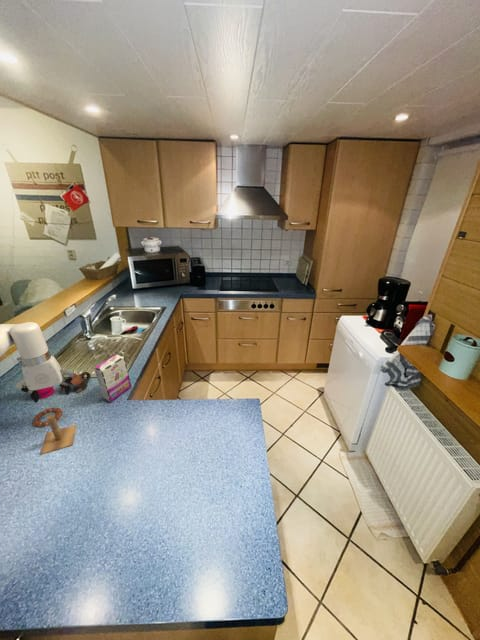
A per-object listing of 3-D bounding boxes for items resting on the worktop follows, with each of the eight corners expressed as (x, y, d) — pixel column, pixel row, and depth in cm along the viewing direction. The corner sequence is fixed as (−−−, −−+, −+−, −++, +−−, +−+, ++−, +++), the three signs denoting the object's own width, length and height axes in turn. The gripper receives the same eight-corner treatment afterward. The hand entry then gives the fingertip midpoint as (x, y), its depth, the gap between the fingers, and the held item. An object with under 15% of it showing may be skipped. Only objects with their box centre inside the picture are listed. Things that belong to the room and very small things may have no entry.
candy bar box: (123, 383, 115) (116, 353, 108) (131, 387, 113) (125, 356, 106) (102, 399, 105) (93, 367, 98) (110, 403, 103) (101, 370, 97)
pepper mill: (35, 403, 103) (18, 363, 94) (36, 393, 108) (19, 354, 99) (57, 396, 107) (41, 357, 98) (56, 387, 112) (41, 349, 103)
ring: (30, 432, 90) (28, 428, 89) (37, 414, 98) (35, 410, 97) (60, 424, 93) (59, 420, 92) (65, 407, 101) (63, 403, 100)
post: (41, 456, 81) (29, 431, 77) (48, 435, 89) (37, 411, 84) (73, 447, 85) (64, 422, 80) (77, 427, 92) (68, 403, 87)
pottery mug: (74, 400, 105) (59, 386, 102) (68, 399, 112) (54, 386, 109) (98, 379, 113) (85, 366, 110) (92, 379, 119) (79, 366, 117)
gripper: (0, 369, 79) (21, 410, 86) (64, 357, 85) (78, 396, 93) (9, 357, 85) (27, 396, 93) (68, 346, 91) (81, 383, 99)
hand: (53, 396), depth 93 cm, fingers open, 9 cm apart
